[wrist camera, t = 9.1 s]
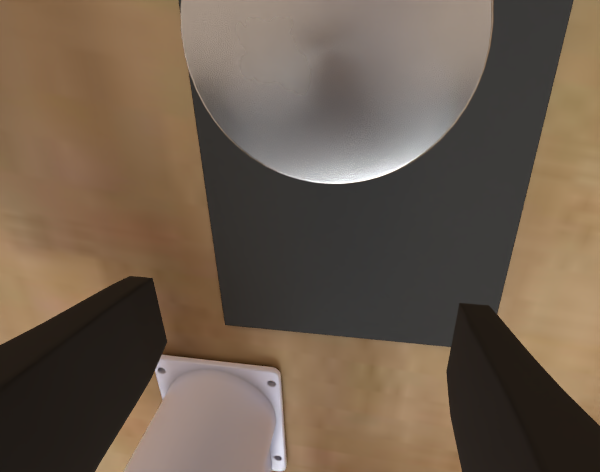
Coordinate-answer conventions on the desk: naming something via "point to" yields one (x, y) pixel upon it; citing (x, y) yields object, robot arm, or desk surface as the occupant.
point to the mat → (390, 210)
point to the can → (336, 78)
